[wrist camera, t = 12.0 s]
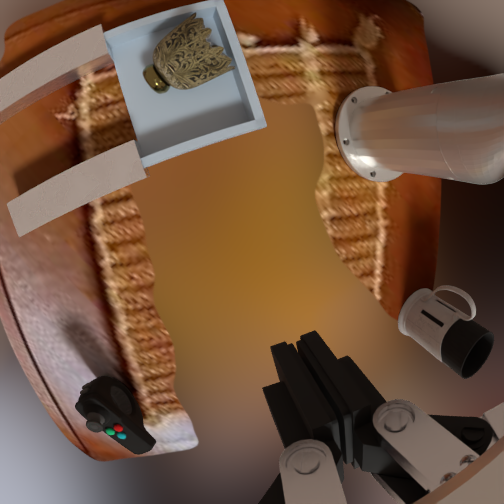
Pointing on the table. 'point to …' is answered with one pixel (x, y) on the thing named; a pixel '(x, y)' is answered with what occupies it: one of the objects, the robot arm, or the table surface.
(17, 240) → the table surface
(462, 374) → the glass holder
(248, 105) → the tray
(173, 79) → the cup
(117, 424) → the controller
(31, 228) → the groove rails
